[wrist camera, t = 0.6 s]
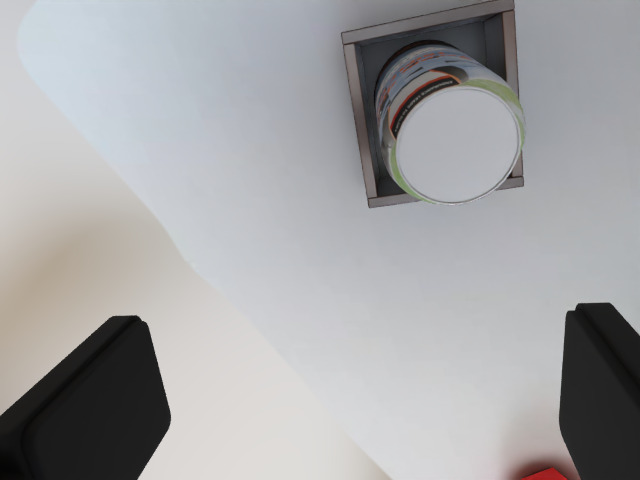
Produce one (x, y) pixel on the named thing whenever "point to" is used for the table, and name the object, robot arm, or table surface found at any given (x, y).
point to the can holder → (495, 27)
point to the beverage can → (446, 123)
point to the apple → (546, 475)
